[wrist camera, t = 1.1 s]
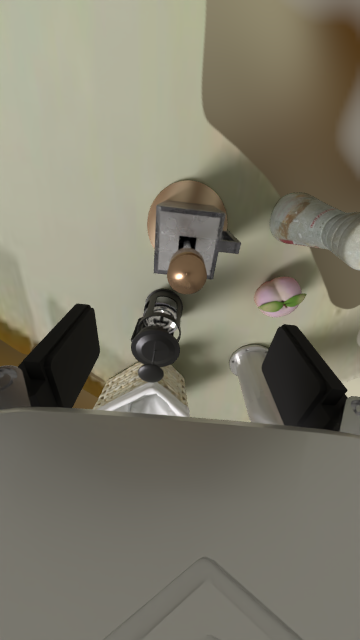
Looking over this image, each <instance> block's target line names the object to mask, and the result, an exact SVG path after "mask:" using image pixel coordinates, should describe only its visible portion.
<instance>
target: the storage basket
mask: <svg viewBox="0 0 360 640" xmlns="http://www.w3.org/2000/svg"><path fill="white" fill-rule="evenodd" d="M142 365H144V364H142V363H141V362H139V363H136V364H135V365H134V366H131V367H129V368H128V369H127V370H125V371H123V372H122V373H119V374H118V375H116V376H115V377H113V378H111V379H109V380H107V383H106V385H105V387H104V389H103V391H102V393H101V395H100V397H99V399H98V402H97V403H96V405H95V406H94V408H93V410H107V411H120V412H133V413H145V414H158V415H170V416H182V417H190V415H189V413H190V411H189V408H188V405H187V404H188V403H187V396H186V389H185V380H184V377H183V376H182V375H181V374H179V372H178V371H177V370H176V369H175V368H174V367H173V366H172V365H168V366H165V367H160V368H161V369H162V370H163V372H164V377H163V378H162V379H161V380H160V381H158V382H155V383H149V382H145V381H143V380H142V379H141V378H140V377H139V375H138V369H139V368H140V367H141V366H142Z"/></svg>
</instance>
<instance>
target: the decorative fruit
mask: <svg viewBox="0 0 360 640" xmlns="http://www.w3.org/2000/svg"><path fill="white" fill-rule="evenodd" d="M305 296H306V294H301V288H300V286H299V284H298V282H297V281H296V280H295V279H293V278H291V277H277V278H274V279H272V280H271V281H269V282H265V283H263V284H262V285H261V286H260V287H259V288H258V289H257V291H256V293H255V296H254V300H255V303H256V305H257V306H258V308H259V309H260V310H261V311H262V312H263V313H264V314H265V315H267V316H270V317H281V316H285V315H287V314H289V313H291V312H293V311H294V310H295V309H296V308H297V307H298V305H299V304H300V303H301V302H302V301H303V300H304V298H305Z"/></svg>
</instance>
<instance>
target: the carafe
mask: <svg viewBox="0 0 360 640" xmlns="http://www.w3.org/2000/svg"><path fill="white" fill-rule="evenodd" d="M225 216H226V213H224V212H223V211H221V210H220V209H218V208H216V207H215V206H213V205H204V204H196V203H188V202H179V201H171V200H165V201H163V202H162V203H160V204H158V205H156V227H155V255H154V273H158V274H167V272H168V268H169V264H170V260H171V257H172V256H173V254H174V253H175V252H176V251H178V246H179V236H187V237H196V245H195V250H196V251H198V252H199V253H200V254H201V255H202V257H203V259H204V263H205V267H206V271H207V279H213V277H214V271H215V266H216V261H217V256H218V252H226V253H235V254H238V253H239V249H240V245H241V242H240V241H239V240H238V239H237V238H236V237H235V236H234V235H233V234H232V233H231V232H230V231H224V230H223V226H224V221H225Z"/></svg>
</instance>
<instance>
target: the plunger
mask: <svg viewBox="0 0 360 640" xmlns="http://www.w3.org/2000/svg"><path fill="white" fill-rule="evenodd" d="M195 245H196V237H187V236H179V246H178V251H176V252H175V253H174V254H173V256H172V257H171V260H170V264H169V268H168V272H167V278H168V282H169V284H170V286H171V287H172V288H173V289H174V290H175V291H177V292H179V293H182V294H192V293H195V292H197V291H199V290H200V289H201V288H202V287H203V286H204V284H205V282H206V279H207V271H206V267H205V263H204V259H203V257H202V255H201V254H200V253H199V252H198V251H196V250H195Z"/></svg>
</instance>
